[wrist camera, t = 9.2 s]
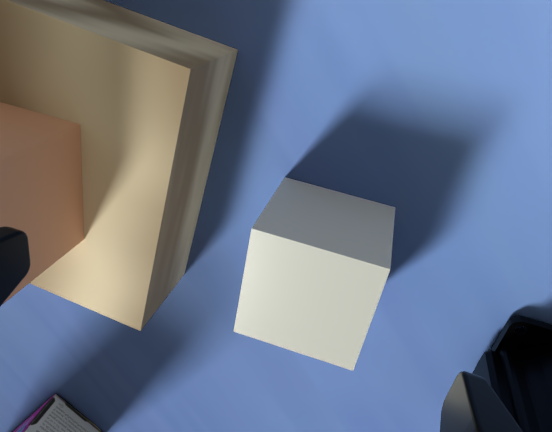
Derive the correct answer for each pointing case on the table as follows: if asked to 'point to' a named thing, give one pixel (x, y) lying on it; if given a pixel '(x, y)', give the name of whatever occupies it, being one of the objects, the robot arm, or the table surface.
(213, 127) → the maple block
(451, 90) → the table surface
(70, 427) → the candy bar box
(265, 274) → the white cube
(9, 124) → the terracotta cube
